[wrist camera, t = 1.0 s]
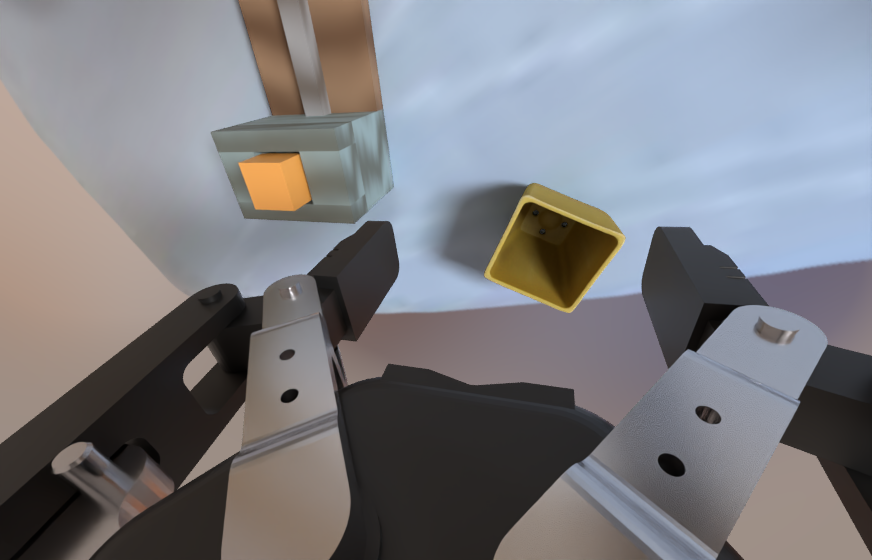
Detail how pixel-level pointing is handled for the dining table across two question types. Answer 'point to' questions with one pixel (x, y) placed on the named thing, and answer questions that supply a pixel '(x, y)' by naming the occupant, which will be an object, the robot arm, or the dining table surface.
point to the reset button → (276, 181)
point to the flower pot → (554, 248)
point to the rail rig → (315, 107)
